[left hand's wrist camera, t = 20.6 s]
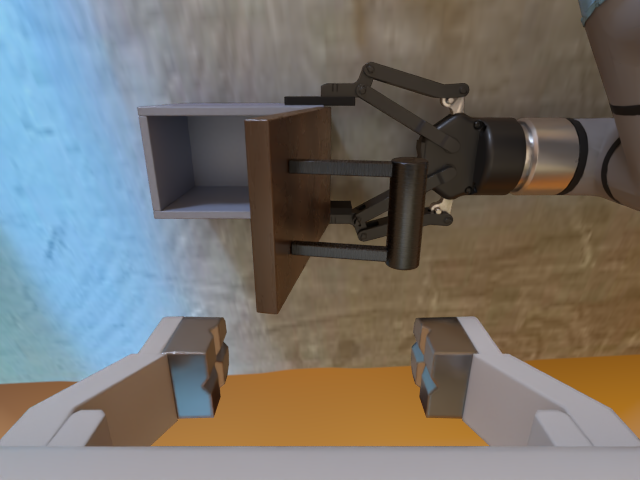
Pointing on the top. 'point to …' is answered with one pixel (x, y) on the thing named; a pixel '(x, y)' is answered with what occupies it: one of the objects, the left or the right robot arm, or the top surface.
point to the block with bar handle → (317, 201)
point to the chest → (200, 157)
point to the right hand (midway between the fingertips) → (287, 156)
